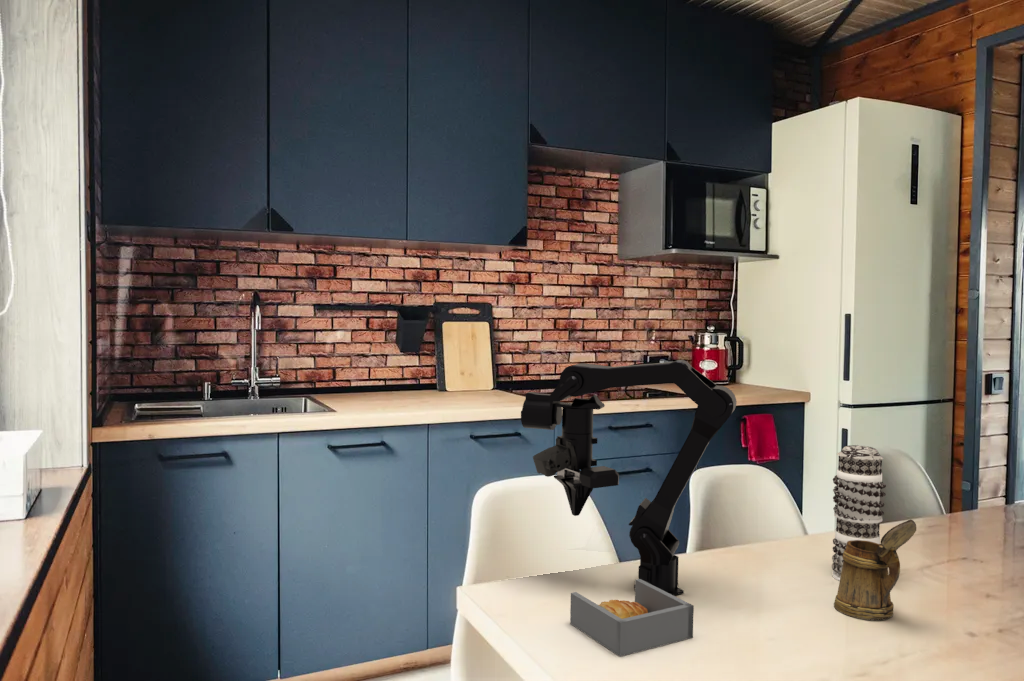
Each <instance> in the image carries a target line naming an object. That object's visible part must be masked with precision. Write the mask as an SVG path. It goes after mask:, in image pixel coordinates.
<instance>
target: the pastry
mask: <svg viewBox="0 0 1024 681" xmlns="http://www.w3.org/2000/svg"><path fill="white" fill-rule="evenodd" d="M598 605H599V606H601V607H602V608H604V609H606V610H608V611H609V612H611V613H613V614H614V615H616V616H618V617H619V618H621V619H624V618H629V617H633V616H637V615H642V614H646V613H648V610H647V609H646V608H645V607H644V606H642V605H641V604H639V603H637V602H635V601H629V600H618V599H610V600H608V601H601V602H600V603H599V604H598Z"/></svg>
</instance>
